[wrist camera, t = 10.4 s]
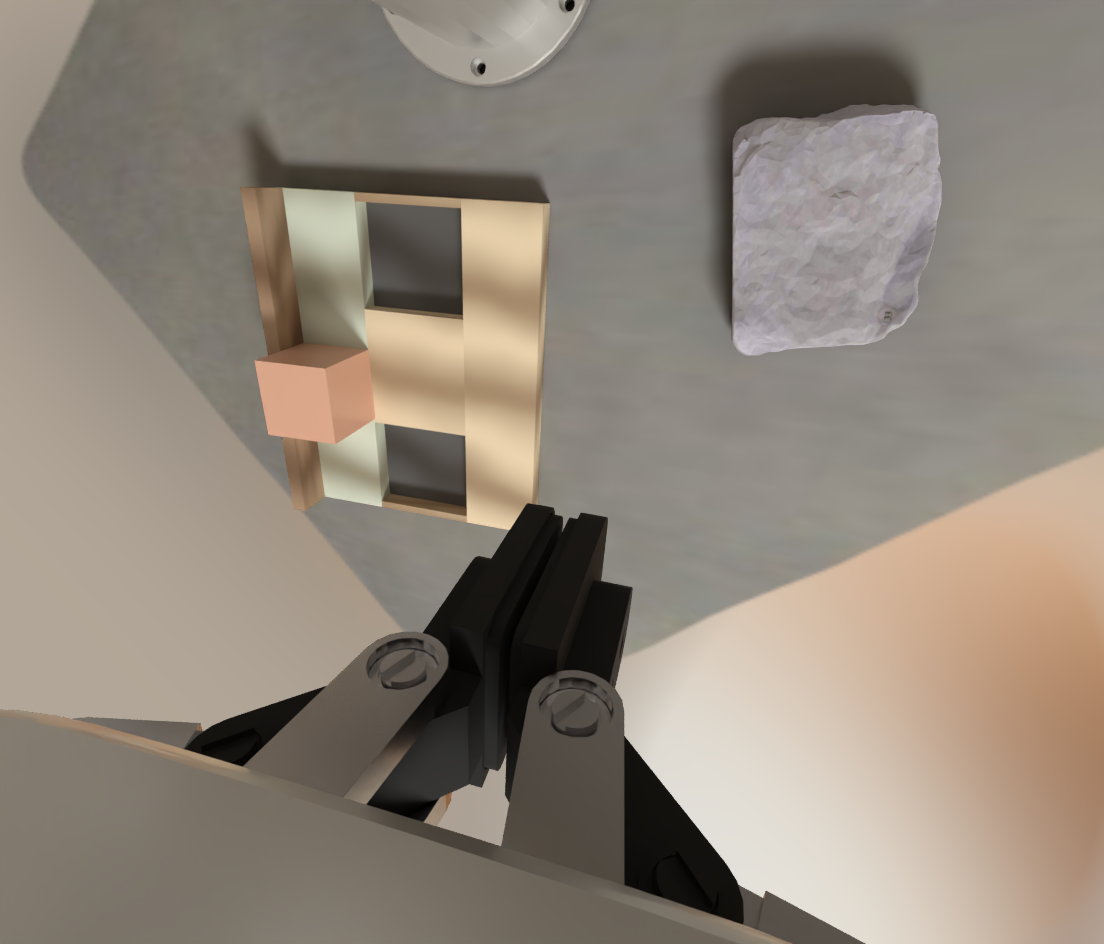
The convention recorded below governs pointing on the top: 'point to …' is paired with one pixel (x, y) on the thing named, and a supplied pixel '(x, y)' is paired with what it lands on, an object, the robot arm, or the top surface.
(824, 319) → the stone block
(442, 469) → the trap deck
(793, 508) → the top surface
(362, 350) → the terracotta block
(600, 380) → the top surface
